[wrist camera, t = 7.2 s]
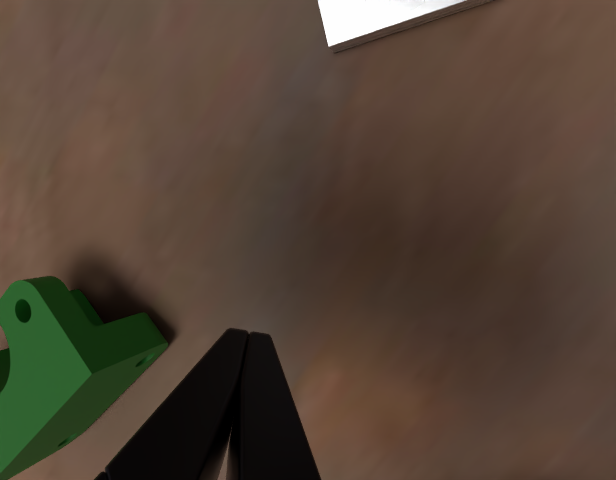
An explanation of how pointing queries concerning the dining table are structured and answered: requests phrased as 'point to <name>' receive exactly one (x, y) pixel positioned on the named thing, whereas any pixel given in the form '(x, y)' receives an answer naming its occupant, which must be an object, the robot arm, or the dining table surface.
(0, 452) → the clamp
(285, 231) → the dining table surface
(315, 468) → the robot arm
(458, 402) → the dining table surface
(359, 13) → the grey ball socket brick
